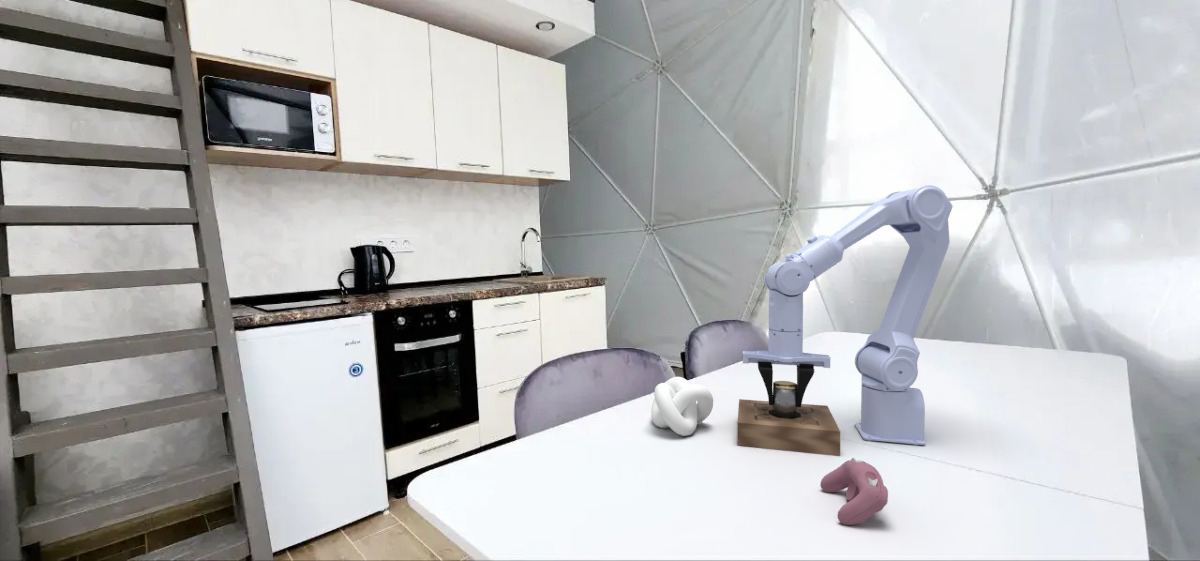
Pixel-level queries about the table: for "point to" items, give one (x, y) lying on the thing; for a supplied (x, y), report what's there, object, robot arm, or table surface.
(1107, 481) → the table surface
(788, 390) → the brass capped cylinder
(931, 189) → the robot arm
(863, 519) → the video game controller
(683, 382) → the white knot sculpture
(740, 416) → the jig
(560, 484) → the table surface
